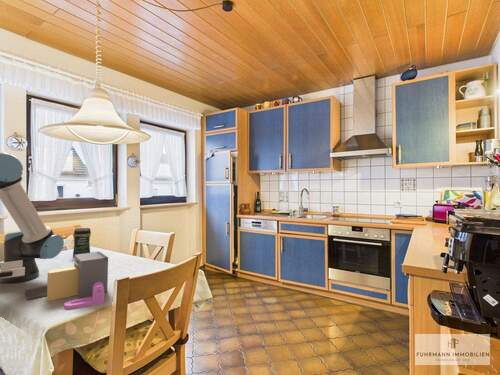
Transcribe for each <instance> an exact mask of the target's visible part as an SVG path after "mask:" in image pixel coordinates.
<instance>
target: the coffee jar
mask: <svg viewBox="0 0 500 375" xmlns="http://www.w3.org/2000/svg"><path fill="white" fill-rule="evenodd" d="M91 235H92V231H91V229H90V227H79V228H75V229H74V231H73V237H74V244H73V250H72V251H73V252H72V257H73V258H74V255H77V254H84V253H91V246H90V244H91V243H90V238H91Z"/></svg>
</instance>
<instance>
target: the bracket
mask: <svg viewBox="0 0 500 375" xmlns="http://www.w3.org/2000/svg"><path fill="white" fill-rule="evenodd" d="M99 303H100V304H104V303H105V293H104V287H103V283H101V282H96V283H95V284H94V285H93V295H92V296H88V297H83V298H77V299H71V300H67V301H66V302H64V303H63V308H64V310H65V309H66V310H73V309H77V308H78V307H79V308H84V307H89V306H88V305H90V306H93V304H95V305H100V304H99ZM83 306H84V307H83Z"/></svg>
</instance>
